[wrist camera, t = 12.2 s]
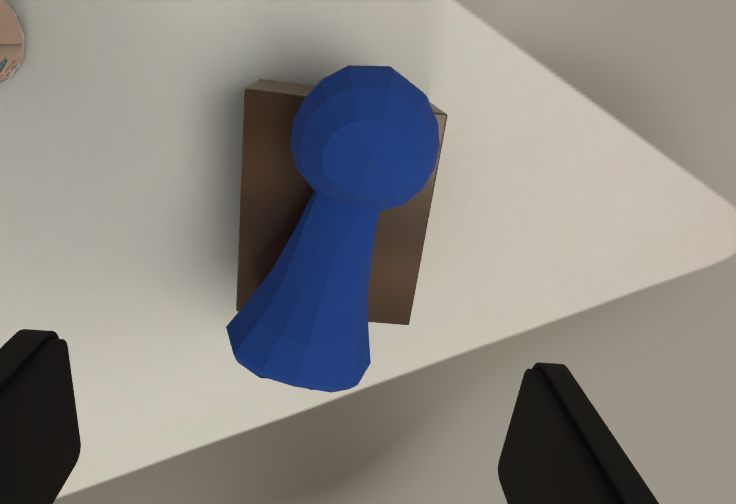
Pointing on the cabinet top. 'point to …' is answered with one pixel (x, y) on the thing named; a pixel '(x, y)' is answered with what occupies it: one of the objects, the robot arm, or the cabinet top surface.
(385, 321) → the walnut block
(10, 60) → the beer can
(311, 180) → the toy
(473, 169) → the cabinet top surface
